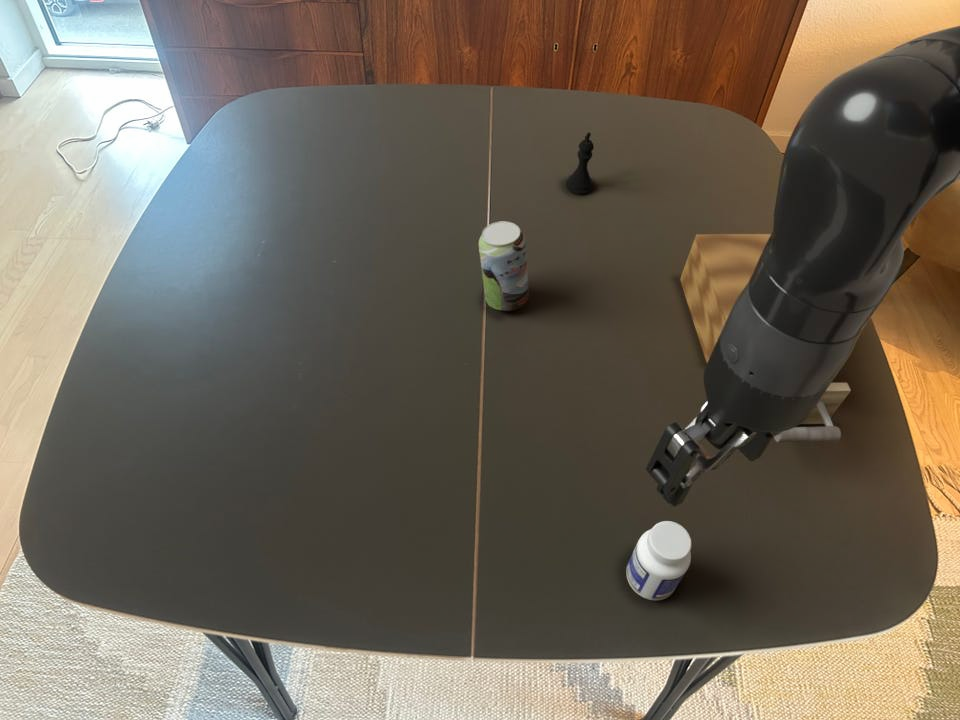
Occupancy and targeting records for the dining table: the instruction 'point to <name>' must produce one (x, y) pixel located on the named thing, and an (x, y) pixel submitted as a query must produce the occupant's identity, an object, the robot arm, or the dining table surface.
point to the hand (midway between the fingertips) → (708, 473)
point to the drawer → (819, 418)
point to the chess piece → (582, 170)
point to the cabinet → (718, 279)
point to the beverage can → (504, 266)
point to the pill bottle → (659, 560)
